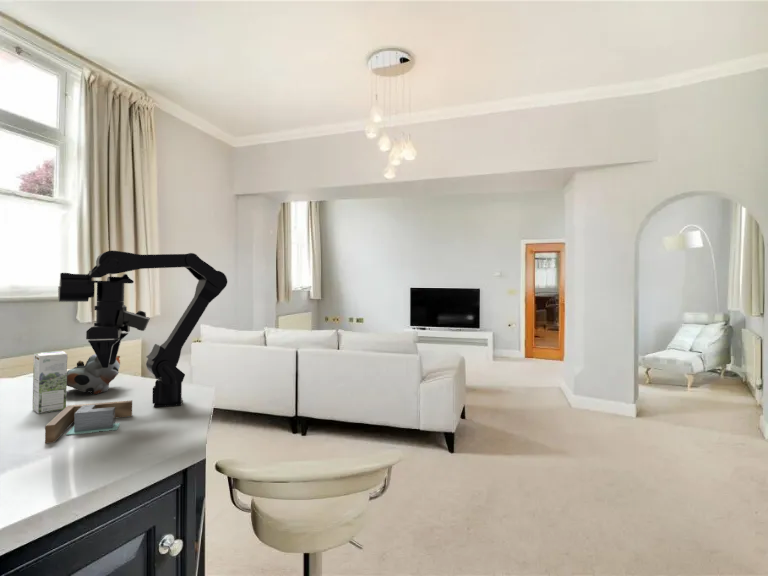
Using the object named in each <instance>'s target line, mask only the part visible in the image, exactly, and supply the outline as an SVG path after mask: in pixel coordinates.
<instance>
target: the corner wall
mask: <svg viewBox="0 0 768 576" xmlns="http://www.w3.org/2000/svg"><path fill="white" fill-rule="evenodd" d="M94 404H96V409H98V408H110V407H115V419H117V418H116V417H119V418H125V417H126V418H128V417H127V416H130V417H132V415H133V399H132V400H123V401H122V400H121V401H120V400H119V401H118V400H117V401H108V402H96V403H95V402H94V403H84V404H83V403H82V404H71V405H69V404H68V405H66V408H65V409H63V410H60V412H59V413H57V414H56V415H55V417H54V418H52V419H51V420H50V421H49V422H48V423H47V424H46V425H45V426H44V427H45V431H44V433H45V434H44V439H45V440H44V443H45V444H52V443H55V442H56V441H57V440H58V439H60V437H61V436H62V435H63V434H64V433H65V432H66V431H67V430H68V428H69V427H71V425H72V424H73V423H74V414H75V412H76V411H77V410H78V409H80V408H81V407H82V406H83V405H94Z"/></svg>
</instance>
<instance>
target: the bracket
mask: <svg viewBox="0 0 768 576" xmlns="http://www.w3.org/2000/svg"><path fill="white" fill-rule="evenodd" d="M73 423H74V425H73V426H74V432H79V431H90V430H100V429H110V428H113V427H114V425H115V423H116V418H115V407H110V408H98V409H96V404H94V405H83V406H82V407H81V408H80V409H78V410H77V411H76V412H75V414H74V422H73Z"/></svg>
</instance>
